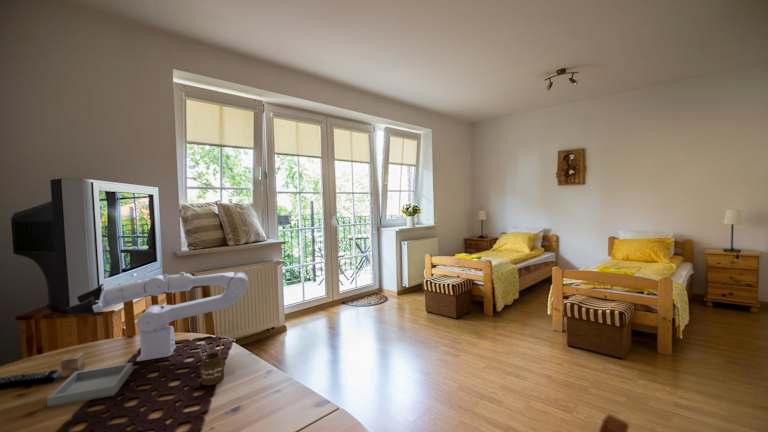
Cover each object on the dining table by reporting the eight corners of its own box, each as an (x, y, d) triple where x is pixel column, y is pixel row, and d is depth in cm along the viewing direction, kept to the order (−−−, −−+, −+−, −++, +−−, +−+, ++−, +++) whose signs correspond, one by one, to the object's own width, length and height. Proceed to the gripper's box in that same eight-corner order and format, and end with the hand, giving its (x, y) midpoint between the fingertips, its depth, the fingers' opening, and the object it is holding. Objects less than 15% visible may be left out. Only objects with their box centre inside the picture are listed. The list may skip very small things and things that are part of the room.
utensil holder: (201, 378, 98) (198, 337, 97) (225, 372, 101) (222, 332, 100) (200, 388, 93) (197, 345, 92) (226, 381, 96) (223, 340, 95)
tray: (133, 370, 104) (132, 362, 104) (114, 395, 91) (113, 386, 90) (76, 380, 99) (75, 371, 99) (47, 407, 86) (46, 398, 86)
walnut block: (85, 368, 106) (84, 352, 106) (78, 374, 102) (77, 358, 102) (69, 370, 105) (67, 354, 105) (62, 377, 101) (60, 360, 101)
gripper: (127, 272, 116) (78, 283, 111) (113, 291, 103) (57, 305, 98) (133, 291, 118) (86, 302, 113) (121, 312, 105) (67, 326, 100)
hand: (73, 305), depth 106 cm, fingers open, 7 cm apart
